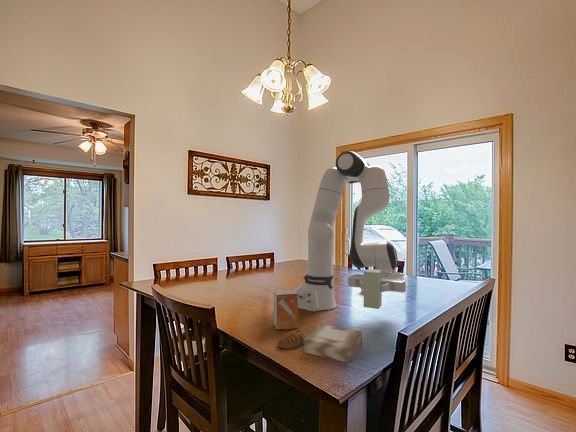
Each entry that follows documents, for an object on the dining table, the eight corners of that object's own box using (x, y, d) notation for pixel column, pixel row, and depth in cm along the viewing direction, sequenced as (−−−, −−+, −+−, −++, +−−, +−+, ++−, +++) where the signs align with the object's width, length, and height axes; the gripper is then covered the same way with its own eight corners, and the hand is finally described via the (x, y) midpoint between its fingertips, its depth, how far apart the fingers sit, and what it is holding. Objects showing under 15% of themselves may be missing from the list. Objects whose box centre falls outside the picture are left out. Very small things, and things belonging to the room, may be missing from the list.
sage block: (363, 306, 102) (363, 271, 102) (367, 303, 106) (367, 269, 106) (378, 309, 100) (378, 272, 100) (381, 305, 104) (381, 270, 104)
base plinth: (304, 352, 91) (304, 338, 91) (321, 335, 103) (321, 323, 103) (349, 362, 85) (349, 347, 85) (361, 343, 97) (361, 330, 97)
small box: (276, 330, 108) (276, 294, 108) (273, 324, 114) (273, 290, 114) (298, 328, 110) (298, 293, 110) (294, 322, 116) (293, 289, 116)
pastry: (288, 352, 91) (287, 340, 91) (272, 346, 96) (272, 334, 96) (307, 343, 98) (307, 331, 98) (292, 337, 103) (292, 326, 103)
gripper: (353, 269, 119) (342, 275, 107) (408, 273, 110) (403, 281, 97) (353, 285, 119) (342, 293, 107) (408, 291, 110) (403, 300, 98)
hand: (372, 287), depth 102 cm, fingers closed on sage block, 5 cm apart
